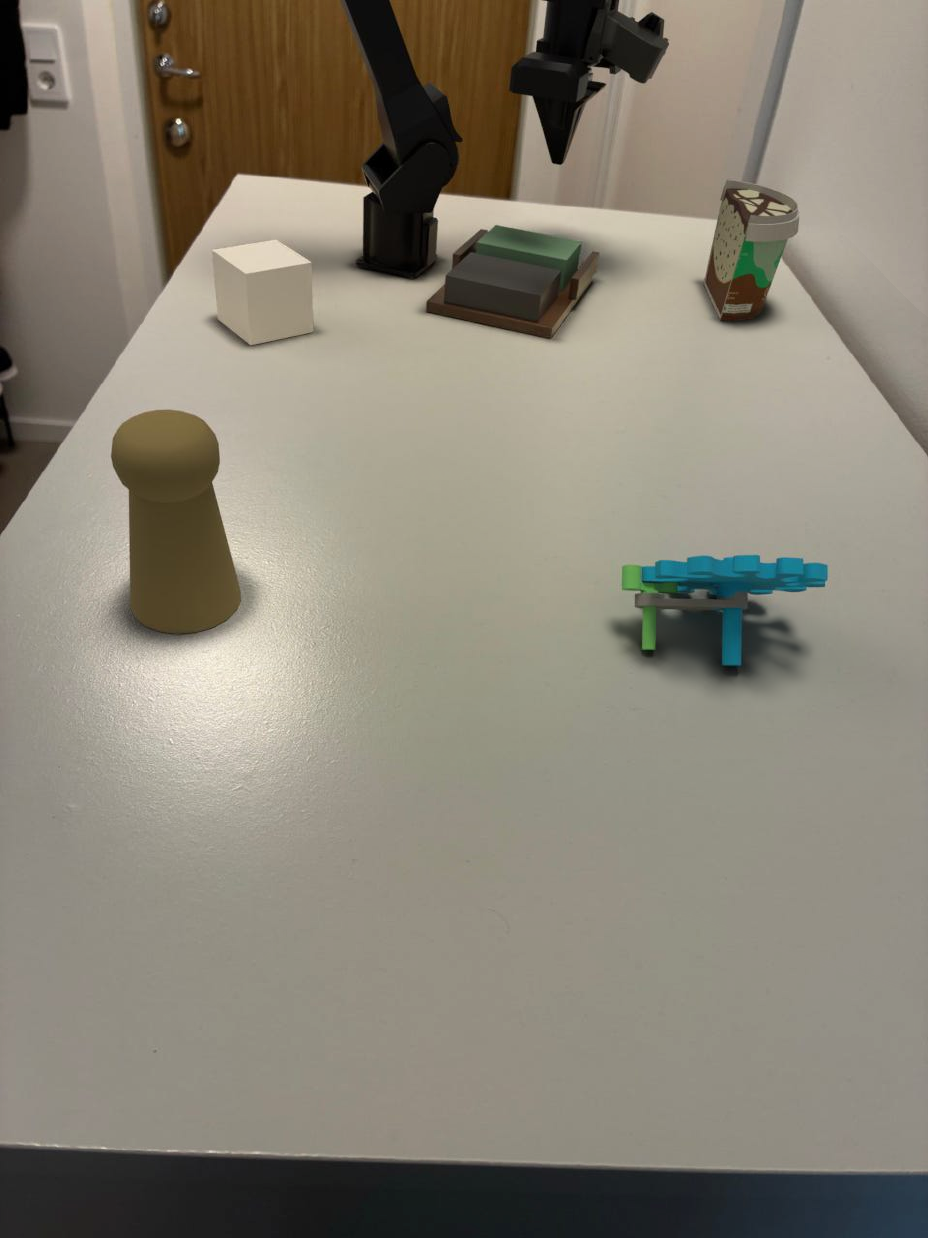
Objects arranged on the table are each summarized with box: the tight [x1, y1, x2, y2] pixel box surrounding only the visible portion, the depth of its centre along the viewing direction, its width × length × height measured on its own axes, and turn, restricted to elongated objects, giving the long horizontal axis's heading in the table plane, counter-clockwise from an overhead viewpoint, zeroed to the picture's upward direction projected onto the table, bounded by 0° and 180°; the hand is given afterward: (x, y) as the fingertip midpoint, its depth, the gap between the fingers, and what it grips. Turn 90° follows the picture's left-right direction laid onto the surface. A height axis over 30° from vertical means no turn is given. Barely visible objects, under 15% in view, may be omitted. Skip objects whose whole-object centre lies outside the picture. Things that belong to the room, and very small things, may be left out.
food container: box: [703, 179, 800, 322], centre depth 92 cm, size 12×6×10 cm, turn 179°
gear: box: [621, 554, 829, 667], centre depth 52 cm, size 11×6×10 cm
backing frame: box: [425, 228, 601, 339], centre depth 91 cm, size 16×13×4 cm
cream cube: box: [211, 239, 314, 346], centre depth 80 cm, size 6×6×6 cm
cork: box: [110, 409, 242, 635], centre depth 50 cm, size 6×6×11 cm
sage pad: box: [476, 224, 583, 291], centre depth 93 cm, size 6×9×3 cm, turn 71°
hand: (557, 163), depth 94 cm, fingers closed
